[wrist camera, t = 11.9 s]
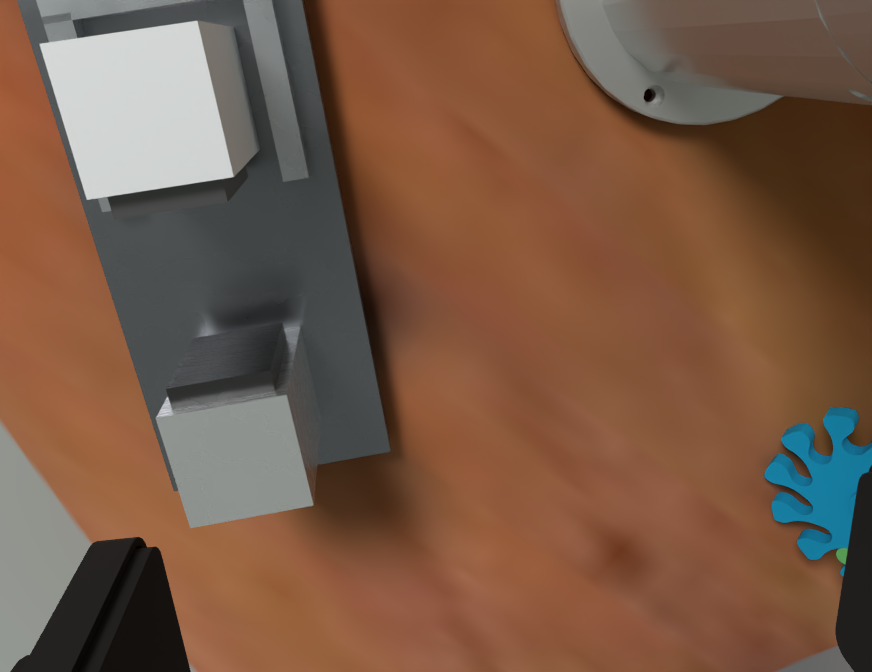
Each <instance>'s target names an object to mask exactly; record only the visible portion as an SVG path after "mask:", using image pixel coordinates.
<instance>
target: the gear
mask: <svg viewBox="0 0 872 672" xmlns="http://www.w3.org/2000/svg"><path fill="white" fill-rule="evenodd" d="M858 420H859V416H858V413H857V411H856V410H853V409H850V408H844V407H830V409H829V410H828V412H827V414H826V415H825V417H824V420H823V423H824V426H825V428H826V429H827V431H828V432H829V434H830V436H831V439H832V442H833V453H832V455H830V456H824V455H821V454H819V453H818V452H816V450H815V449H814V447H813V442H814V438H815V433H814V430H813V429H812V427H811V426H810V425H809V424H807V423H801V424H797V425H795V426H793V427H791V428H789V429H787V430H786V431H785V433H784V435H783V436H782V438H781V440H782V443H783V445H784V446H785V447H786V448H787V449H789V450H790V451H792V452H794V453H795V454H796V455H798V456H799V457H800V458H801V459H802V460H803V462H804V463H805V464H806V466H807V468H808V469H809V471H810V474H811V476H812V477H811V478H807V477H803V476H802V475H800V474H799V473H798V472H797V470H796V468H795V466H794V464H793V462H792V460H791V459H790V458H789V457H787V456H785V455H783V454H777V455H776V456H775V457H774V458H773V460H772V461H771V463H770V465H769V466H768V468H767V470H766V472H765V474H764V477H765V478H766V479H767V480H768V481H770V482H772V483H775V484H780V485H783V486H787V487H789V488H791V489H793V490H795V491H797V492H798V493H800V494H801V495H802V496H803V497H805V498H806V499H807V500H808V501H809V502H810V503H811V504H812V506H807V505H804V504H802V503H801V502H799V501H798V500H797V499H796V498H795V497H794V496H792V495H790V494H788V493H785V492H779V493H777V495H776V497H775V499H774V500H773V502H772V513H773V517H774V519H775V520H777V521H779V522H783V523H788V522H792V521H805V522H810V523H813V524H816V525H819V526H821V527H824V528H826V529H827V530H828V531H829V532H830V533H831V534H825V533H822V532H820V531H817V530H814V529H806V530H804V531H802V532H801V534H800V536H799V538H798V540H797V544H798V546H799V548H800V549H801V551H802V552H803V553H804V554H805V555H806V557H807V558H808V559H810V560H817V559H820V558H821V557H822V556H823V554H825V553H826V552H828V551H830V550H833V549H837V548H838V550H837V552H836V556H837V558H838V560H839V561H840V562H842V563H843V567H842V569H841V571H840V574H841V575H842V576H843V577H844V570H845V564H846V557H847V551H848V544H849V538H850V531H851V525H852V519H853V512H854V506H855V499H856V493H857V486H858V482H859V478H860V477H861V475H862V474H864V473H867V472H869V468H870V467H871V465H872V442H871V443H870V444H868V445H866V446H863V447H859V446H855V445H853V444H852V443H850V442H849V440H848V439H847V436H848V435H850V434H851V433H852V432H853V430H854V428H855V426H856V424H857V422H858Z"/></svg>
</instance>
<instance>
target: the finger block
mask: <svg viewBox="0 0 872 672" xmlns="http://www.w3.org/2000/svg"><path fill="white" fill-rule="evenodd" d="M40 48H41V51H42V54H43V58H44V61H45V64H46V67H47V71H48V74H49V77H50V80H51V84H52V87H53V90H54V94H55V97H56V100H57V103H58V107H59V110H60V113H61V117H62V120H63V123H64V126H65V130H66V133H67V136H68V140H69V143H70V146H71V149H72V153H73V156H74V159H75V163H76V166H77V169H78V172H79V176H80V179H81V182H82V185H83V189H84V192H85V195H86V199H87V200H90V199H96V198H102V197H107V198H108V201H109V204H110V208H111V211H112V215H113V218H114V220H116V219H122V218H129V217H135V216H142V215H148V214H154V213H161V212H167V211H173V210H180V209H186V208H192V207H199V206H205V205H212V204H218V203H224V202H228V201H229V200H230V199H231V198H232V196H233V195H234V194H235V193H236V192H237V190H238V189H239V188H240V187H241V186H242V184H243V183H244V182H245V181H246V180H247V178H248V174H247V169H246V164H247V163H248V162H249V160H250V159H251V158H252V157H253V156H254V155H255V154H256V153H257V152H258V151H259V150H260V147H259V142H258V138H257V133H256V128H255V124H254V119H253V115H252V110H251V105H250V101H249V96H248V92H247V87H246V82H245V78H244V73H243V69H242V64H241V60H240V55H239V50H238V46H237V41H236V37H235V32H234V27H230V26H225V25H219V24H213V23H208V22H202V21H192V22H185V23H178V24H171V25H164V26H157V27H151V28H144V29H137V30H130V31H123V32H117V33H110V34H103V35H96V36H89V37H83V38H76V39H69V40H62V41H55V42H49V43H42V44H40Z"/></svg>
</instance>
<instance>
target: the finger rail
mask: <svg viewBox="0 0 872 672" xmlns="http://www.w3.org/2000/svg"><path fill="white" fill-rule="evenodd" d="M17 2H18V5H19V8H20V11H21V14H22V17H23V20H24V24H25V27H26V30H27V33H28V36H29V39H30V42H31V45H32V49H33V52H34V55H35V58H36V61H37V64H38V67H39V70H40V74H41V77H42V80H43V83H44V86H45V89H46V92H47V95H48V99H49V102H50V105H51V108H52V111H53V114H54V117H55V120H56V124H57V127H58V130H59V133H60V136H61V139H62V142H63V145H64V149H65V152H66V155H67V158H68V161H69V164H70V167H71V170H72V174H73V177H74V180H75V183H76V186H77V189H78V192H79V195H80V199H81V202H82V205H83V208H84V211H85V214H86V217H87V220H88V224H89V227H90V230H91V233H92V236H93V239H94V242H95V245H96V249H97V252H98V255H99V258H100V261H101V264H102V267H103V270H104V274H105V277H106V280H107V283H108V286H109V289H110V292H111V295H112V299H113V302H114V305H115V308H116V311H117V314H118V317H119V320H120V324H121V327H122V330H123V333H124V336H125V339H126V342H127V345H128V349H129V352H130V355H131V358H132V361H133V364H134V367H135V370H136V374H137V377H138V380H139V383H140V386H141V389H142V392H143V395H144V399H145V402H146V405H147V408H148V411H149V414H150V417H151V420H152V424H153V427H154V430H155V433H156V436H157V439H158V442H159V445H160V449H161V452H162V455H163V458H164V461H165V464H166V467H167V470H168V474H169V477H170V480H171V483H172V486H173V489H174V491H179V494H180V497H181V500H182V503H183V506H184V509H185V513H186V516H187V519H188V522H189V525H190V528H194V527H200V526H205V525H211V524H216V523H221V522H227V521H232V520H238V519H243V518H248V517H254V516H259V515H265V514H270V513H276V512H281V511H286V510H292V509H297V508H303V507H308V506H314V497H315V486H316V475H317V465H320V464H326V463H331V462H337V461H342V460H348V459H353V458H359V457H364V456H370V455H375V454H381V453H386V452H391V450H390V438H389V432H388V427H387V422H386V417H385V412H384V407H383V401H382V396H381V391H380V386H379V381H378V376H377V371H376V366H375V361H374V356H373V350H372V345H371V340H370V335H369V330H368V325H367V320H366V315H365V310H364V304H363V299H362V294H361V289H360V284H359V279H358V274H357V269H356V264H355V259H354V253H353V248H352V243H351V238H350V233H349V228H348V223H347V218H346V213H345V207H344V202H343V197H342V192H341V187H340V182H339V177H338V172H337V167H336V162H335V156H334V151H333V146H332V141H331V136H330V131H329V126H328V121H327V116H326V111H325V105H324V100H323V95H322V90H321V85H320V80H319V75H318V70H317V65H316V59H315V54H314V49H313V44H312V39H311V34H310V29H309V24H308V19H307V14H306V8H305V3H304V0H17ZM192 21H202V22H208V23H213V24H219V25H225V26H230V27H234V32H235V37H236V41H237V46H238V50H239V55H240V60H241V64H242V69H243V73H244V78H245V82H246V87H247V92H248V96H249V101H250V105H251V110H252V115H253V119H254V124H255V128H256V133H257V138H258V142H259V147H260V150H259V151H258V152H257V153H256V154H255V155H254V156H253V157H252V158H251V159H250V160H249V162H248V163H247V164H246V169H247V174H248V178H247V180H246V181H245V182H244V183H243V184H242V186H241V187H240V188H239V189H238V190H237V192H236V193H235V194H234V195H233V196H232V198H231V199H230V200H229V201H228V202H224V203H218V204H212V205H205V206H199V207H192V208H186V209H180V210H173V211H167V212H161V213H154V214H148V215H142V216H135V217H129V218H122V219H116V220H114V218H113V215H112V211H111V208H110V204H109V201H108V198H107V197H102V198H96V199H90V200H87V199H86V195H85V192H84V189H83V185H82V182H81V179H80V176H79V172H78V169H77V166H76V163H75V159H74V156H73V153H72V149H71V146H70V143H69V140H68V136H67V133H66V130H65V126H64V123H63V120H62V117H61V113H60V110H59V107H58V103H57V100H56V97H55V94H54V90H53V87H52V84H51V80H50V77H49V74H48V71H47V67H46V64H45V61H44V58H43V54H42V51H41V48H40V44H42V43H49V42H55V41H62V40H69V39H76V38H83V37H89V36H96V35H103V34H110V33H117V32H123V31H130V30H137V29H144V28H151V27H157V26H164V25H171V24H178V23H185V22H192Z"/></svg>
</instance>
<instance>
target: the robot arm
mask: <svg viewBox="0 0 872 672" xmlns="http://www.w3.org/2000/svg"><path fill="white" fill-rule="evenodd" d="M555 3H556V7H557V12H558V16H559V21H560V25H561V27H562V29H563V32H564V34H565V36H566V39H567V41H568V44H569V46H570V48H571V51H572V53H573V54H574V56H575V57H576V59H577V60H578V62H579V63H580V64H581V66H582V67H583V69H584V70H585V72H586V73H587V75H588V76H589V77H590V78H591V79H592V80H593V81H594V82H595V83H596V84H597V85H598V86H599V87H600V88H601V89H602V90H603V91H604V92H605V93H606V94H607V95H608V96H609V97H611V98H613V99H614V100H616V101H617V102H619V103H620V104H622V105H624V106H625V107H627V108H628V109H630V110H632V111H634V112H637V113H640V114H642V115H645V116H648V117H651V118H653V119H656V120H660V121H666V122H671V123H675V124H688V125H709V124H715V123H721V122H727V121H732V120H736V119H738V118H741V117H744V116H746V115H749V114H752V113H754V112H757V111H760V110H762V109H764V108H765V107H767V106H769V105H770V104H772V103H774V102H775V101H777V100H779V99H780V98H782V97H784V96H790V97H799V98H808V99H817V100H826V101H836V102H845V103H854V104H863V105H872V0H555ZM647 89H650V90H651V92H652V96H651V98H650V100H648V101H645V100H644V92H645V91H646V90H647ZM836 639H837V643H838V646H839V649H840V651H841V653H842V655H843V657H844V658H845V660H846V661H847V662H848V664H849V665H850V666H851V668H852V669H853V670H854V672H872V465H871V467H870V468H869V472H867V473H864V474H862V475H861V477H860V478H859V482H858V486H857V493H856V499H855V506H854V512H853V519H852V525H851V531H850V538H849V544H848V551H847V557H846V564H845V570H844V577H843V583H842V590H841V596H840V603H839V609H838V616H837V622H836ZM11 672H190V668H189V663H188V659H187V655H186V651H185V647H184V643H183V639H182V635H181V631H180V627H179V623H178V619H177V615H176V611H175V607H174V603H173V599H172V595H171V591H170V587H169V583H168V579H167V575H166V571H165V567H164V563H163V559H162V555H161V552H160V550H159V549H158V548H157V547H148V548H147V546H146V543H145V542H144V540H143V539H142V538H140V537H134V538H125V539H115V540H106V541H97V542H94V543H93V544H92V545H91V546H90V548H89V549H88V551H87V553H86V555H85V556H84V558H83V560H82V562H81V564H80V566H79V567H78V569H77V571H76V573H75V574H74V576H73V578H72V580H71V582H70V584H69V585H68V587H67V589H66V591H65V593H64V595H63V596H62V598H61V600H60V602H59V604H58V605H57V607H56V609H55V611H54V612H53V614H52V616H51V618H50V620H49V622H48V623H47V625H46V627H45V629H44V631H43V633H42V634H41V636H40V638H39V640H38V641H37V643H36V645H35V647H34V649H33V650H32V652H31V654H30V655H27V656H25V657H24V658H22V659H21V660H19V661H18V662H17V663H16V665H15V666H14V667H13V669H12V670H11Z"/></svg>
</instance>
